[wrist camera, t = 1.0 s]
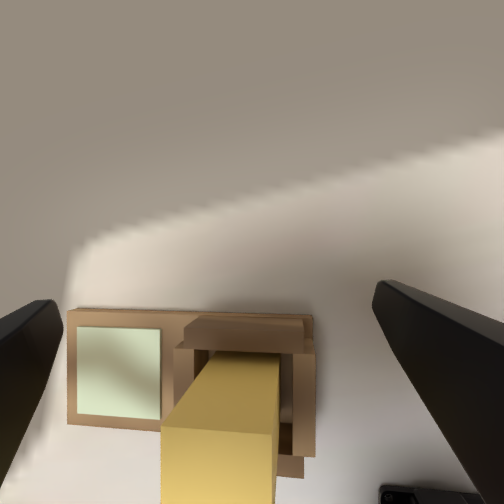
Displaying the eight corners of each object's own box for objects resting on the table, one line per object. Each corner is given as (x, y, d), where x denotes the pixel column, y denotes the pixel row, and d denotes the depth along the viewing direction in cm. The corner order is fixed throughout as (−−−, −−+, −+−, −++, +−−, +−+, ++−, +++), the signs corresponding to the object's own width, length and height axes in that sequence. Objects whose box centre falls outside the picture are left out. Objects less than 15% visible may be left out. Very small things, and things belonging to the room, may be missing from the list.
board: (311, 435, 20) (312, 447, 19) (77, 416, 22) (64, 426, 21) (311, 315, 20) (313, 319, 19) (76, 308, 22) (63, 312, 21)
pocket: (311, 443, 19) (315, 479, 16) (191, 433, 20) (173, 466, 17) (311, 319, 19) (315, 332, 16) (190, 315, 20) (173, 327, 17)
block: (280, 410, 19) (271, 550, 10) (219, 406, 20) (160, 536, 11) (280, 348, 19) (271, 435, 10) (219, 346, 20) (160, 426, 11)
